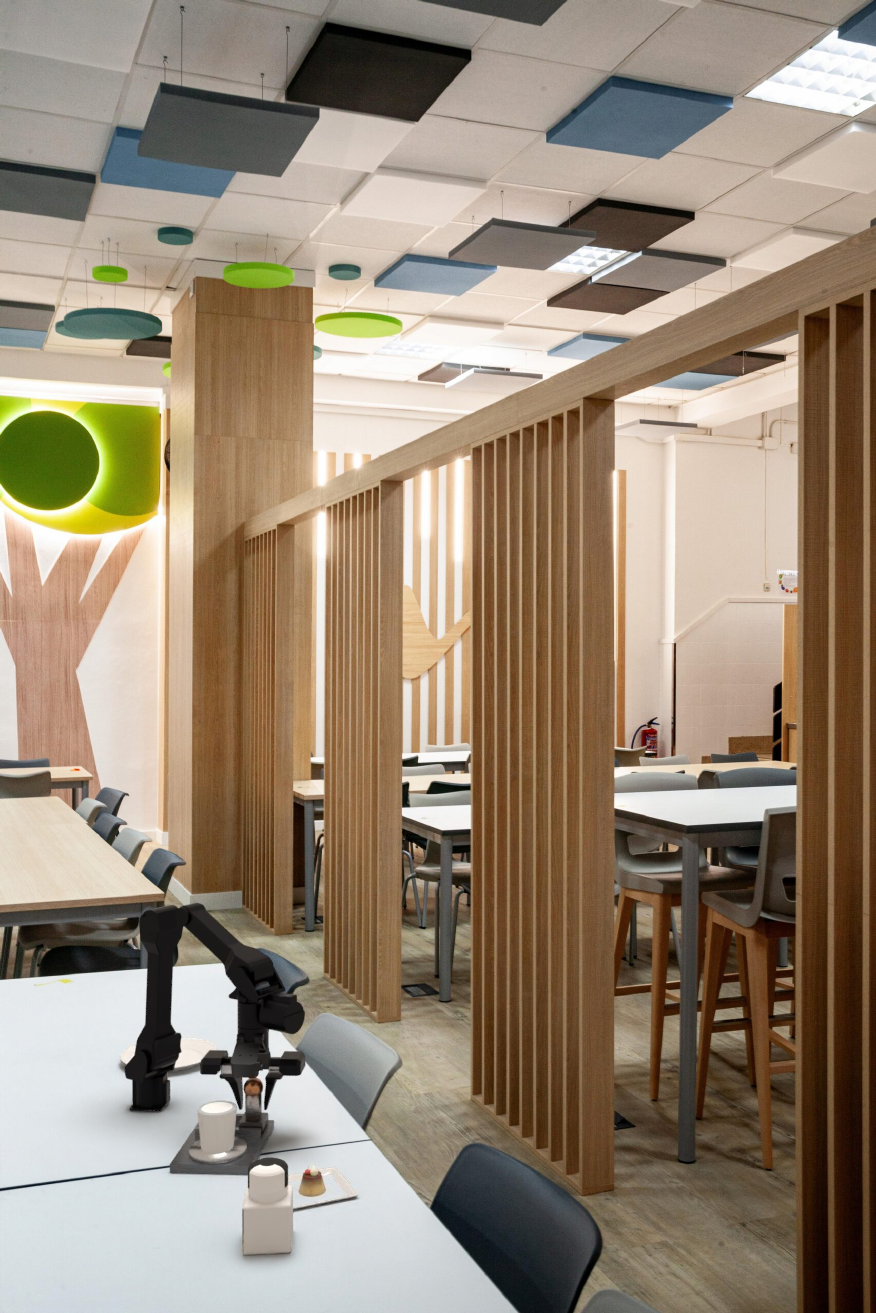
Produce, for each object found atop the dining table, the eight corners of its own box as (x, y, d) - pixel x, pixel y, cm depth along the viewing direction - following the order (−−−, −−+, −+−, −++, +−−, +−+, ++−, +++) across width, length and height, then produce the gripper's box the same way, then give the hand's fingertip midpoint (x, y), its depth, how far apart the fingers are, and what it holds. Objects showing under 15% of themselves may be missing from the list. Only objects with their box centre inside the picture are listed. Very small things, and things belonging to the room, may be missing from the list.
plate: (100, 1071, 246) (100, 1061, 246) (158, 1042, 266) (158, 1033, 266) (180, 1084, 238) (180, 1073, 238) (234, 1053, 258) (234, 1043, 258)
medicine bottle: (246, 1232, 174) (246, 1153, 174) (293, 1230, 175) (292, 1151, 175) (242, 1255, 167) (242, 1173, 167) (291, 1253, 167) (290, 1171, 168)
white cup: (227, 1156, 196) (227, 1115, 196) (191, 1153, 197) (190, 1112, 198) (243, 1140, 203) (242, 1101, 203) (207, 1137, 204) (206, 1098, 204)
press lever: (238, 1131, 208) (238, 1082, 208) (244, 1121, 213) (244, 1073, 213) (262, 1131, 208) (262, 1082, 208) (268, 1121, 213) (267, 1073, 213)
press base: (169, 1172, 195) (169, 1157, 195) (200, 1126, 215) (200, 1112, 215) (250, 1174, 194) (250, 1158, 194) (273, 1127, 214) (273, 1113, 214)
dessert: (267, 1185, 191) (267, 1157, 191) (335, 1172, 196) (335, 1144, 196) (287, 1216, 180) (287, 1186, 180) (358, 1201, 185) (358, 1172, 185)
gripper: (191, 1037, 203) (191, 1125, 203) (294, 1039, 202) (295, 1127, 202) (207, 1019, 214) (208, 1102, 214) (305, 1020, 213) (306, 1103, 213)
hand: (253, 1109), depth 210 cm, fingers open, 4 cm apart
